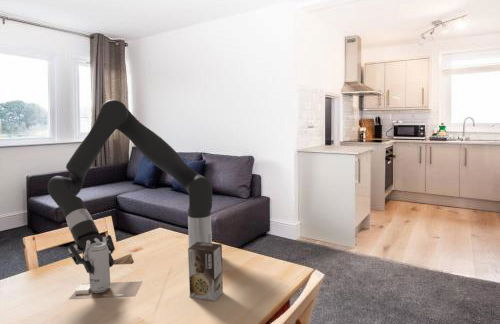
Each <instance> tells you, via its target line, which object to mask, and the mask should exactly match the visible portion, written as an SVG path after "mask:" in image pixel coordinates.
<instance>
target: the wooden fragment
mask: <svg viewBox="0 0 500 324" xmlns="http://www.w3.org/2000/svg"><path fill="white" fill-rule="evenodd" d="M113 260H114V264H113V266H115V265H131V264H132V263H134V262H135V261H134V259H133V255H132V254H131V253H129V254H126V255H123V256H121V257H118V258H116V259H113Z"/></svg>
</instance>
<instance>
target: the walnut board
mask: <svg viewBox="0 0 500 324" xmlns="http://www.w3.org/2000/svg"><path fill="white" fill-rule="evenodd" d="M142 283H143V280H141V281H138V280H137V281H117V282H112V281H111V282H110V287H109V289H108V290H106V291H105V292H101V293H94V292H92V290H91V291H90V292H89V294H75V291H74V292H73V293H72V294H71V296H70V297H68V300H83V299H85V300H86V299H103V298H105V299H106V298H125V297H136V295H137V294H138V291H139V290H140V287H141V286H142ZM84 284H85V283H81V284H80V285H84ZM87 284H90V282H88V283H87Z"/></svg>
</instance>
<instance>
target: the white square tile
mask: <svg viewBox="0 0 500 324" xmlns="http://www.w3.org/2000/svg"><path fill="white" fill-rule="evenodd" d="M83 284H84V285H81V284H80V285H78V286H77V287H76V289H75V290H74V292H75V294H89V292H90V291H91V289H90V284H88V283H83Z"/></svg>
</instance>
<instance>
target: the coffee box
mask: <svg viewBox="0 0 500 324" xmlns="http://www.w3.org/2000/svg"><path fill="white" fill-rule="evenodd" d="M222 253H223V247H222V244H221V243H213V242H212V243H204V242H196V243H195V244H193V245H192V246H191V247H190V248H189V247H188V248H187V257H188V279H189V280H188V281H189V283H188V284H189V297H190V298H194V299H200V300H207V301H213V302H216V301H217V300H218V299H219V298H220V296H221V295H222V294H223V293H224V290H223V289H224V288H223V287H224V286H223V254H222Z"/></svg>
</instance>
